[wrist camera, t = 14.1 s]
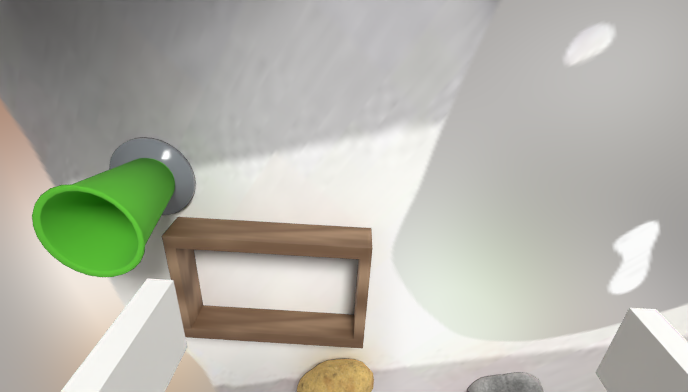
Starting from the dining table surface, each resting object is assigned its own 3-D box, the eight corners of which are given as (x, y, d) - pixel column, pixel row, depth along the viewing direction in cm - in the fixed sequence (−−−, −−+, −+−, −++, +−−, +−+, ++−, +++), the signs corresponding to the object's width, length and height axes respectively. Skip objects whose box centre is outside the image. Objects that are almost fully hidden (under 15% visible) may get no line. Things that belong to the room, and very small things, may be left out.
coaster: (103, 135, 39) (100, 136, 39) (189, 139, 39) (187, 141, 39) (123, 210, 44) (120, 212, 43) (200, 214, 43) (198, 217, 43)
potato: (291, 357, 54) (283, 398, 48) (365, 341, 52) (366, 381, 46) (309, 387, 57) (303, 429, 51) (380, 372, 55) (382, 414, 49)
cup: (145, 225, 44) (84, 290, 34) (92, 158, 40) (6, 209, 30) (210, 198, 42) (165, 259, 32) (160, 125, 38) (92, 168, 28)
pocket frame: (177, 216, 44) (161, 236, 40) (371, 228, 43) (372, 248, 40) (195, 313, 51) (183, 337, 47) (362, 323, 50) (362, 348, 47)
